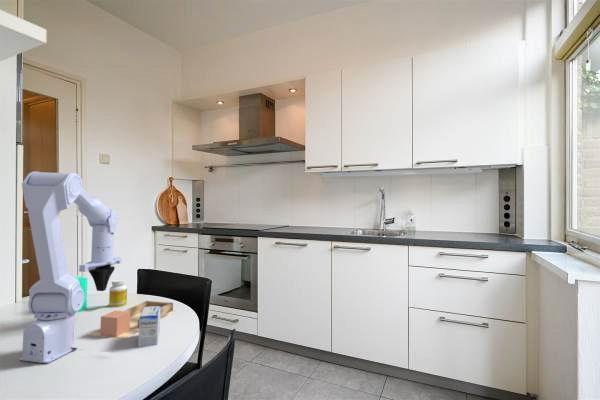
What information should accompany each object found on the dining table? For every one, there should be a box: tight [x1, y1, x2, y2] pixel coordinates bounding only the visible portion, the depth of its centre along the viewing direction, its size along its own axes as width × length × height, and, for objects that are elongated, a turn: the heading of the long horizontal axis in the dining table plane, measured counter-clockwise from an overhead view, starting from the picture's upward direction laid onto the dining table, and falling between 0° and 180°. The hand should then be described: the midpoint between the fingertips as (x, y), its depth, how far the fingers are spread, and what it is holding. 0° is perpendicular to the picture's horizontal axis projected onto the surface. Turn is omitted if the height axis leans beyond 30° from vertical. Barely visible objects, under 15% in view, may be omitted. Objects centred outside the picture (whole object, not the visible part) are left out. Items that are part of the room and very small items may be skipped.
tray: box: [87, 300, 175, 340], centre depth 94 cm, size 23×12×4 cm, turn 170°
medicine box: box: [138, 306, 161, 348], centre depth 82 cm, size 8×4×9 cm, turn 21°
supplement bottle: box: [108, 278, 128, 308], centre depth 109 cm, size 5×5×10 cm
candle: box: [75, 274, 88, 313], centre depth 107 cm, size 6×6×12 cm
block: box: [99, 310, 130, 337], centre depth 86 cm, size 5×5×5 cm
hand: (101, 290), depth 97 cm, fingers closed
